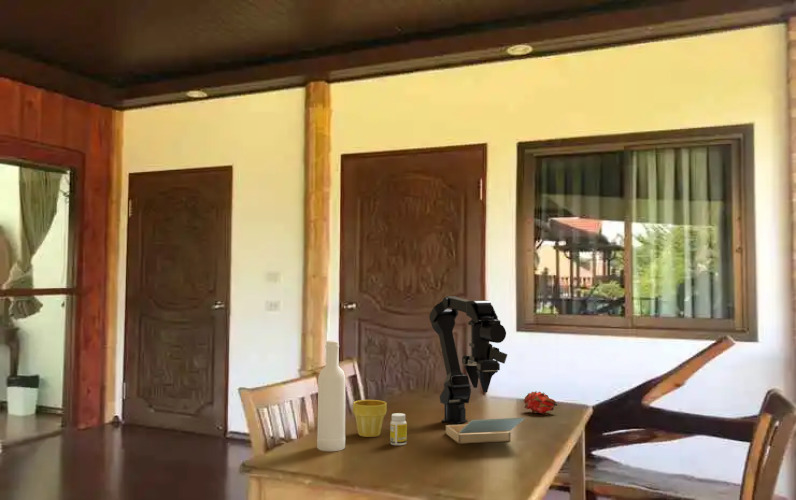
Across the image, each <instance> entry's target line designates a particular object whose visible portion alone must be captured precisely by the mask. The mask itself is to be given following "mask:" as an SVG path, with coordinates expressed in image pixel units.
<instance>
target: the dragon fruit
mask: <svg viewBox="0 0 796 500" xmlns="http://www.w3.org/2000/svg"><path fill="white" fill-rule="evenodd" d="M522 400H523V401H522V402H523V403H524V408H525V409H526V410H531V413H532V414H537V413H539V414H543V415H545V416H546V415H550V414H551V413H550V411H551V412H552V411H554V409H555V406H558V404H557V402H556V400H554V399H552V398H550V397H549V395H548V394H545V392H541V391H537V390H536V391H531V392H528V393H527V395H525V397H524V399H522Z"/></svg>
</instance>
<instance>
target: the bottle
mask: <svg viewBox="0 0 796 500" xmlns="http://www.w3.org/2000/svg"><path fill="white" fill-rule="evenodd" d="M339 348H340V342H339V341H338V340H326V341H325V366H324V367H323V368H322V369H321V370H320V372H319V375H318V378H317V384H318V385H317V437H316V439H317V441H316V447H317V449H318V450H319V451H322V452H339V451H342V450H343V451H344V449H345V448H346V384H347V383H346V380H347V379H346V375H345V372H344V369H343V368H341V367H340V366H339V360H340V359H339V358H340V357H339V355H340V353H339V350H340V349H339Z"/></svg>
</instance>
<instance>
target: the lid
mask: <svg viewBox="0 0 796 500" xmlns="http://www.w3.org/2000/svg"><path fill="white" fill-rule="evenodd" d="M525 419H526V418H525V417H510V418H509V417H508V418H487V419H486V418H485V419H484V418H483V419H471V420H470V421H469V422H468V423H467V425H466V426H465V427H464V428H463V429H462V430H461V431H460V432H459V433H460V434H462V433H483V432H503V431H509V432H511V430H513V429H514V428H515V427H517V426H518V425H519V424H521V422H523V421H524V420H525Z"/></svg>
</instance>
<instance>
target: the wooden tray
mask: <svg viewBox="0 0 796 500" xmlns="http://www.w3.org/2000/svg"><path fill="white" fill-rule="evenodd" d="M467 424H468V423H467ZM467 424H465V423H464V424H448V425H447V424H446V425H445V434H446V435H447V436H448V437H449V438H451V440H454V442H456V443H458V444H460V445H461V444H480V443H498V442H511V431H503V432H483V433H462V434H460V433H459V432H460V431H461V430H462V429H463V428H464V427H465V426H466V425H467Z"/></svg>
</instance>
